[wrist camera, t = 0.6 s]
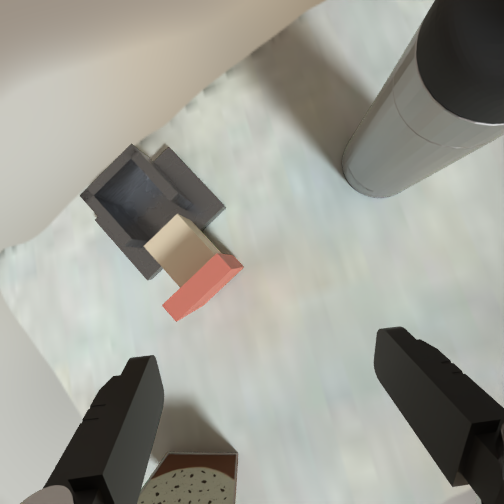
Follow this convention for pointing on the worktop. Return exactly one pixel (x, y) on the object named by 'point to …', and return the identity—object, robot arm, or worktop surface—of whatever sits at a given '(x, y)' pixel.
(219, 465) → the food container
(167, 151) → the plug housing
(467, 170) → the worktop surface
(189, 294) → the red plug
